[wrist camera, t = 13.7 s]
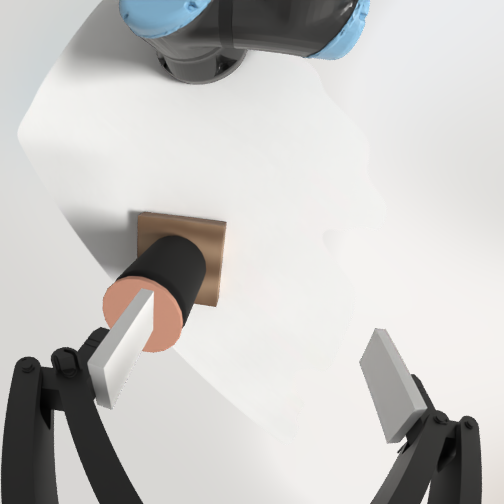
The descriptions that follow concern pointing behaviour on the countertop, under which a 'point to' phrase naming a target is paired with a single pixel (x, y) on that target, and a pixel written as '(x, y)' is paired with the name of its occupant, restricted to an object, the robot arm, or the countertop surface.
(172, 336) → the coffee jar
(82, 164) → the countertop surface
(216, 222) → the walnut riser
